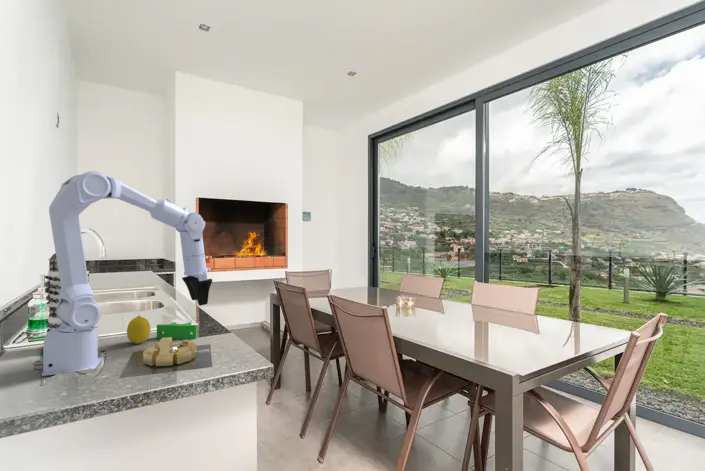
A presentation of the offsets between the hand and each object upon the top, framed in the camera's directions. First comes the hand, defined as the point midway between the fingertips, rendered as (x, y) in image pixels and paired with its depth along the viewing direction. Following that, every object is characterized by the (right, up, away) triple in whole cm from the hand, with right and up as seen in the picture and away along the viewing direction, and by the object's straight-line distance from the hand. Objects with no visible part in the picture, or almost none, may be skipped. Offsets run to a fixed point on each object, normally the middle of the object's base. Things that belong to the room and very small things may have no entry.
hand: (199, 302), depth 106 cm
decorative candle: (-32, -11, -8) cm, 34 cm away
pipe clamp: (-6, -11, +1) cm, 13 cm away
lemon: (-14, -11, -5) cm, 19 cm away
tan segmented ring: (0, -10, -18) cm, 21 cm away
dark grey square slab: (0, -11, -18) cm, 21 cm away
